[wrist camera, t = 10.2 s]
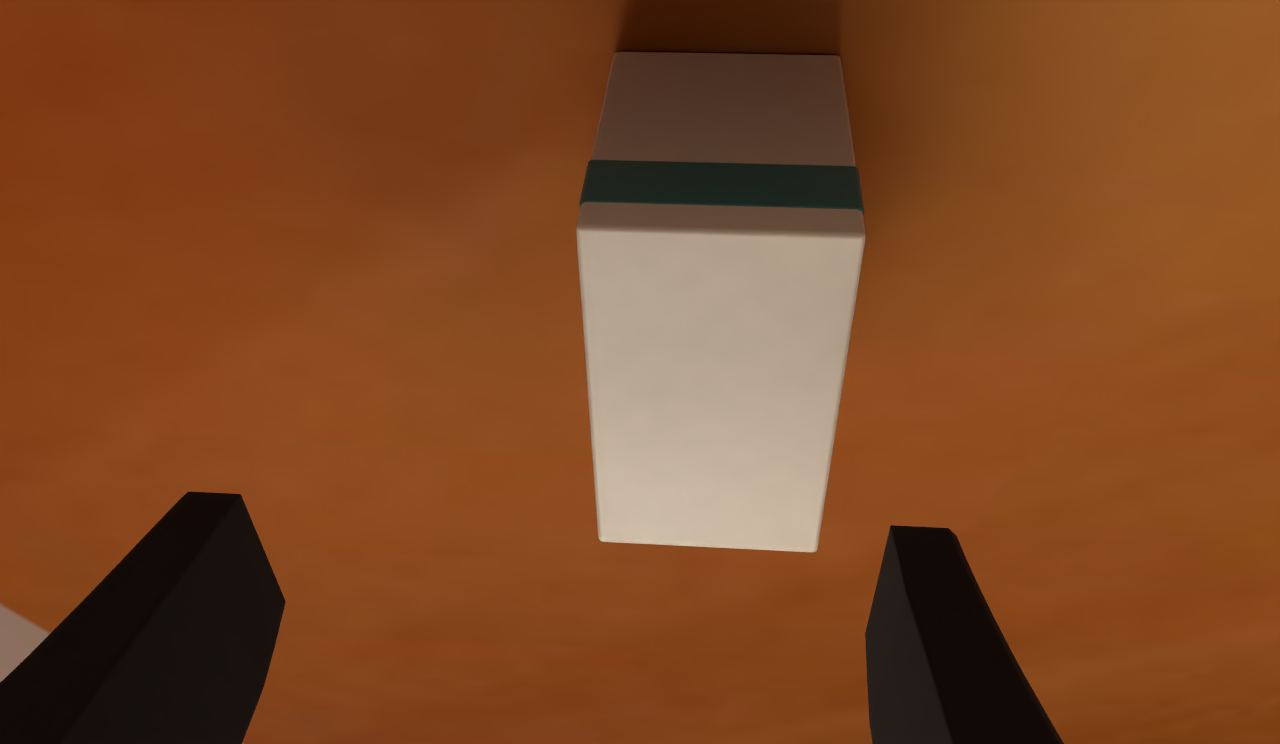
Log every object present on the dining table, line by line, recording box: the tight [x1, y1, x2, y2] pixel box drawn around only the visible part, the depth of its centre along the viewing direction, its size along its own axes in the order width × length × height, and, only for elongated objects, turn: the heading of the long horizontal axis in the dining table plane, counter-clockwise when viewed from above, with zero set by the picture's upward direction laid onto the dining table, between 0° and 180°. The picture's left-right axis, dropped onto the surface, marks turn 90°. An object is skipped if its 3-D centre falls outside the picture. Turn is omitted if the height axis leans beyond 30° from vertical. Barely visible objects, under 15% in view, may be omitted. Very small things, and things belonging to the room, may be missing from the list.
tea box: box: [576, 52, 866, 552], centre depth 19 cm, size 4×7×6 cm, turn 1°
